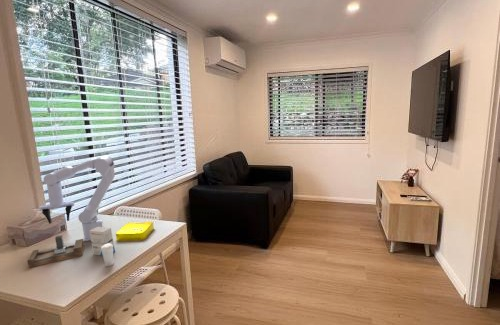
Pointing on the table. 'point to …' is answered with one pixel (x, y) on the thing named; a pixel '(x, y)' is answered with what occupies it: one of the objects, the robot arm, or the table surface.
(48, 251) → the base
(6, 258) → the table surface
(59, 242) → the sliding jaw
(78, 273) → the table surface
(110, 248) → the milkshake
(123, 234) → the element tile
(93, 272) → the table surface
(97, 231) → the ink box
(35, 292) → the table surface
